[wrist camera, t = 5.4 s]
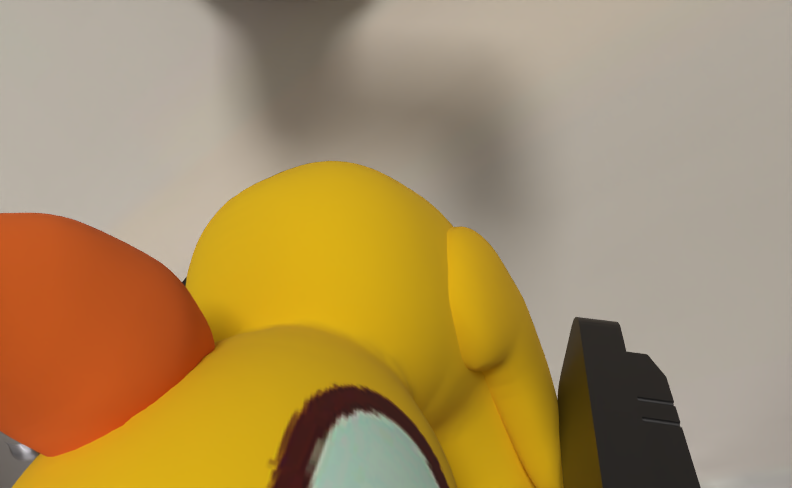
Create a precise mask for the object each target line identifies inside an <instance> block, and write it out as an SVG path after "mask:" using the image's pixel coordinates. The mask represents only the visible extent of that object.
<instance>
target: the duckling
mask: <svg viewBox="0 0 792 488" xmlns="http://www.w3.org/2000/svg"><path fill="white" fill-rule="evenodd" d="M0 431H1V432H3V433H4V434H6V435H7V436H9V437H10V438H12V439H14V440H16V441H18V442H19V443H21V444H23V445H25V446H27V447H29V448H31V449H33V450H35V451H36V452H38V453H40V454H39V455H38V456H37V457H36V458H35V460H34V461H33V462H32V463H31V464H30V465H29V467H28V468H27V469H26V470H25V471H24V472H23V474H22V475H21V476H20V477H19V479H18V480H17V481H16V483H15V484H14V485H13V486H12V488H564V487H563V474H562V461H561V449H560V436H559V411H558V400H557V396H556V392H555V389H554V385H553V381H552V378H551V374H550V371H549V368H548V364H547V361H546V358H545V355H544V352H543V350H542V347H541V344H540V341H539V338H538V336H537V333H536V330H535V327H534V324H533V322H532V319H531V316H530V314H529V311H528V309H527V306H526V304H525V302H524V299H523V297H522V295H521V293H520V292H519V290H518V288H517V286H516V285H515V283H514V281H513V280H512V278H511V276H510V274H509V273H508V271H507V269H506V268H505V266H504V264H503V263H502V261H501V259H500V258H499V256H498V255H497V253H496V252H495V250H494V249H493V248H492V246H491V245H490V244H489V243H488V242H487V241H486V240H485V239H484V238H483V237H482V236H481V235H479V234H478V233H477V232H475V231H473V230H472V229H469V228H466V227H453V226H452V225H451V224H450V222H449V221H448V220H447V219H446V218H445V217H444V216H443V215H442V214H441V213H440V212H439V211H438V210H437V209H436V208H435V207H434V206H433V205H432V204H430V203H429V202H428V201H427V200H425V199H424V198H423V197H421V196H420V195H418V194H417V193H415V192H414V191H412V190H411V189H409V188H407V187H406V186H404V185H403V184H401V183H399V182H398V181H396V180H394V179H392V178H390V177H389V176H387V175H385V174H383V173H381V172H379V171H376V170H374V169H371V168H368V167H365V166H362V165H358V164H354V163H349V162H341V161H324V162H314V163H309V164H305V165H301V166H298V167H295V168H292V169H289V170H286V171H283V172H281V173H278V174H276V175H274V176H272V177H270V178H267V179H265V180H263V181H260V182H258V183H256V184H254V185H252V186H251V187H249V188H247V189H245V190H243V191H242V192H240V193H239V194H238V195H237V196H235V197H233V198H232V199H230V200H229V201H228V202H227V203H226V204H225V205H224V206H223V207H222V208H221V209H220V210H219V211H218V212H217V213H216V214H215V216H214V217H213V218H212V219H211V220H210V222H209V223H208V225H207V226H206V228H205V229H204V231H203V233H202V235H201V237H200V238H199V241H198V243H197V245H196V248H195V250H194V253H193V256H192V259H191V263H190V266H189V270H188V274H187V279H186V286H184V284H183V283H182V282H181V281H180V280H179V279H178V278H177V277H176V276H175V275H174V274H173V273H172V272H171V271H170V270H169V269H168V268H167V267H166V266H164V265H163V264H162V263H160V262H159V261H157V260H156V259H154V258H152V257H150V256H149V255H147V254H146V253H144V252H142V251H140V250H138V249H136V248H134V247H132V246H131V245H129V244H127V243H125V242H123V241H121V240H119V239H117V238H115V237H113V236H111V235H108V234H106V233H104V232H102V231H100V230H98V229H95V228H93V227H91V226H89V225H86V224H84V223H81V222H79V221H76V220H73V219H69V218H66V217H62V216H56V215H51V214H42V213H0Z"/></svg>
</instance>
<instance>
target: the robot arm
mask: <svg viewBox="0 0 792 488" xmlns="http://www.w3.org/2000/svg"><path fill="white" fill-rule="evenodd" d="M186 279H187V277H186V278H185V279H184V281H183V282H182V283H183V284H184V286H186ZM673 403H674V401H673V397H672V394H671V391H670V388H669V384H668V381H667V378H666V376H665V375H664V374H663V373H662V371H661V370H660V369H659V368H658V367H657V365H656V364H655V363H654V362H653V361H652V360H651V358H650V357H649V356H648V355H647V354H640V353H632V352H626V348H625V344H624V340H623V336H622V332H621V328H620V325H619V323H618V322H613V321H605V320H596V319H588V318H580V317H575V319H574V321H573V324H572V327H571V332H570V336H569V341H568V345H567V349H566V354H565V358H564V363H563V367H562V371H561V376H560V381H559V388H558V411H559V436H560V449H561V461H562V474H563V487H564V488H700V485H699V481H698V478H697V475H696V472H695V468H694V465H693V462H692V459H691V456H690V452H689V449H688V446H687V443H686V439H685V436H684V433H683V430H682V427H680V420H679V417H678V414H677V410H676V407H675V406H673ZM39 454H40V453H38V452H36V451H35V450H33V449H31V448H29V447H27V446H25V445H23V444H21V443H19V442H18V441H16V440H14V439H12V438H10V437H9V436H7V435H6V434H4V433H3V432H1V431H0V488H12V486H13V485H14V484H15V483H16V481H17V480H18V479H19V477H20V476H21V475H22V474H23V472H24V471H25V470H26V469H27V468H28V467H29V465H30V464H31V463H32V462H33V461H34V460H35V458H36V457H37V456H38V455H39Z"/></svg>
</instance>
